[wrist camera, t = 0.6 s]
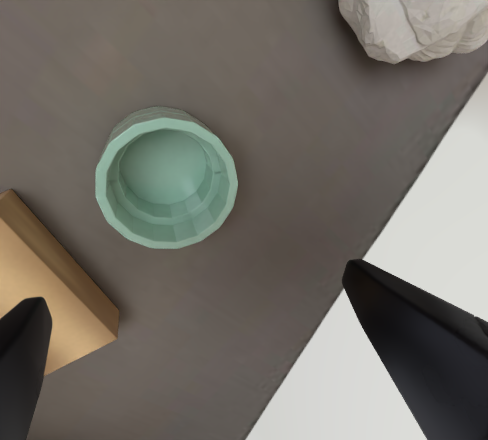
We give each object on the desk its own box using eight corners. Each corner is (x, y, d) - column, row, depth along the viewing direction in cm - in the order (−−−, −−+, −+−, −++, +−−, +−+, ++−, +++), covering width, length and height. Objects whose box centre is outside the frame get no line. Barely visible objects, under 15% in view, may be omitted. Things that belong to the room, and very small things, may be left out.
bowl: (129, 225, 22) (127, 265, 17) (83, 121, 18) (67, 140, 14) (226, 196, 23) (247, 227, 19) (203, 93, 19) (222, 103, 15)
